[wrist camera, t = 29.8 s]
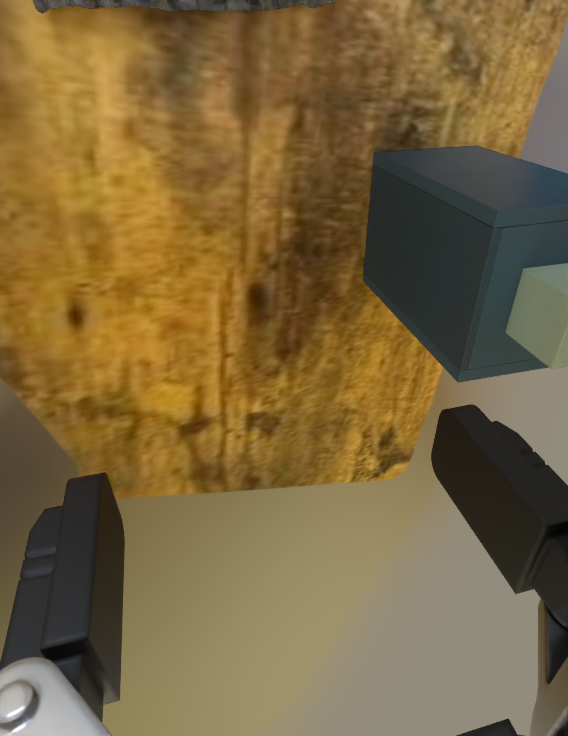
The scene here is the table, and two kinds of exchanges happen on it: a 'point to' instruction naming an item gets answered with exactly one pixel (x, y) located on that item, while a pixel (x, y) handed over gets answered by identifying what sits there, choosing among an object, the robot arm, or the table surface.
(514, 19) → the table surface
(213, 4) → the grey cloth
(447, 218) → the shelf
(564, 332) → the block
